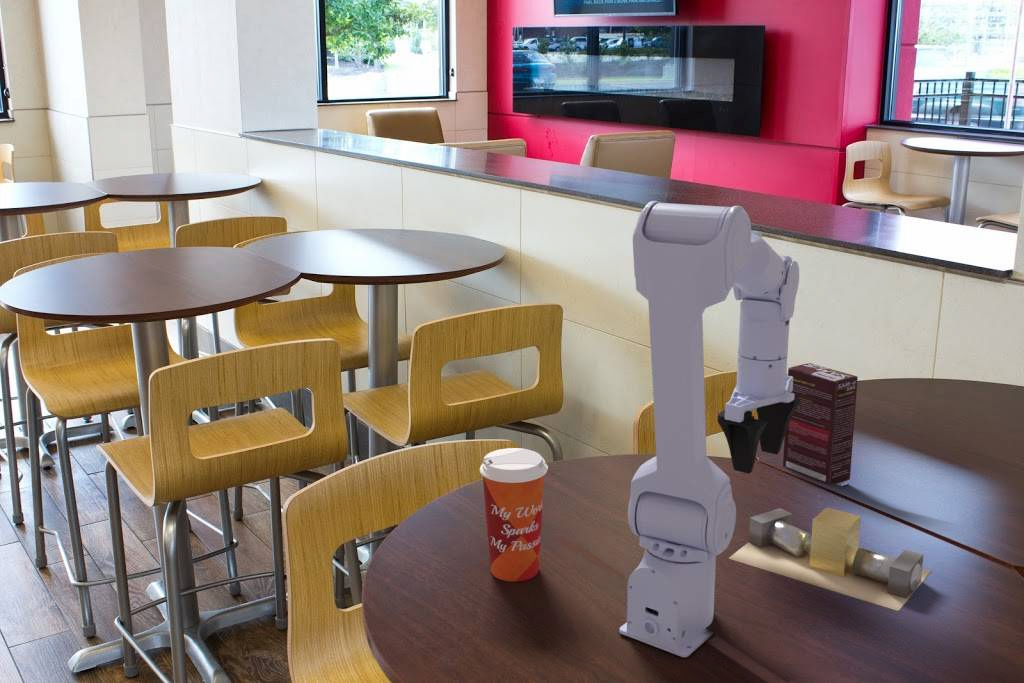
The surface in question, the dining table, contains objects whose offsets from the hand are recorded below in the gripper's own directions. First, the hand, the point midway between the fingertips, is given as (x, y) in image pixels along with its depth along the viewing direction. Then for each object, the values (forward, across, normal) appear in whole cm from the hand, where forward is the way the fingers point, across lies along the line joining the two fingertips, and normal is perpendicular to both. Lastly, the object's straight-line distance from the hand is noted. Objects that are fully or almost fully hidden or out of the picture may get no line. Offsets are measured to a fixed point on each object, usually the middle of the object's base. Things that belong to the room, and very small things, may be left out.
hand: (756, 461), depth 124 cm
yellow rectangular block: (+9, -4, -12) cm, 15 cm away
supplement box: (+10, +22, +1) cm, 24 cm away
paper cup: (+10, -25, +18) cm, 32 cm away
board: (+10, -4, -11) cm, 15 cm away
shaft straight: (+9, -4, -18) cm, 20 cm away
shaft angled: (+9, -3, -5) cm, 11 cm away
